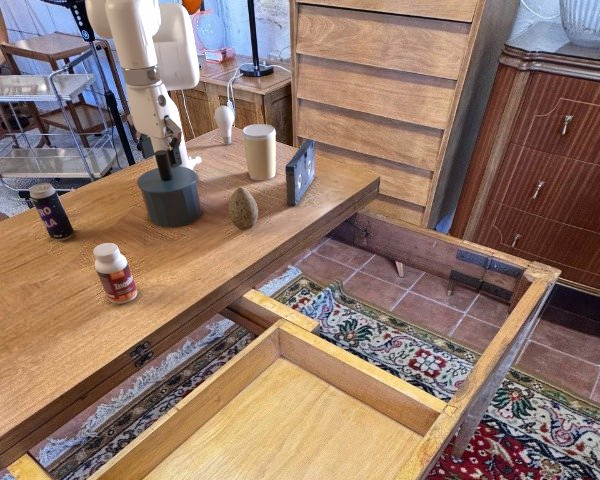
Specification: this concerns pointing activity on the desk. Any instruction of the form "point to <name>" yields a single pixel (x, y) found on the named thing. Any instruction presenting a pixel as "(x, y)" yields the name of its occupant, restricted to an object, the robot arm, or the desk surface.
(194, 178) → the tin lid
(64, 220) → the beverage can
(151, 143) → the robot arm
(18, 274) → the desk surface
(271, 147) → the coffee cup
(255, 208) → the decorative egg
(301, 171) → the vhs cassette tape
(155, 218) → the tin
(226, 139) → the lightbulb
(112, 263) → the pill bottle
